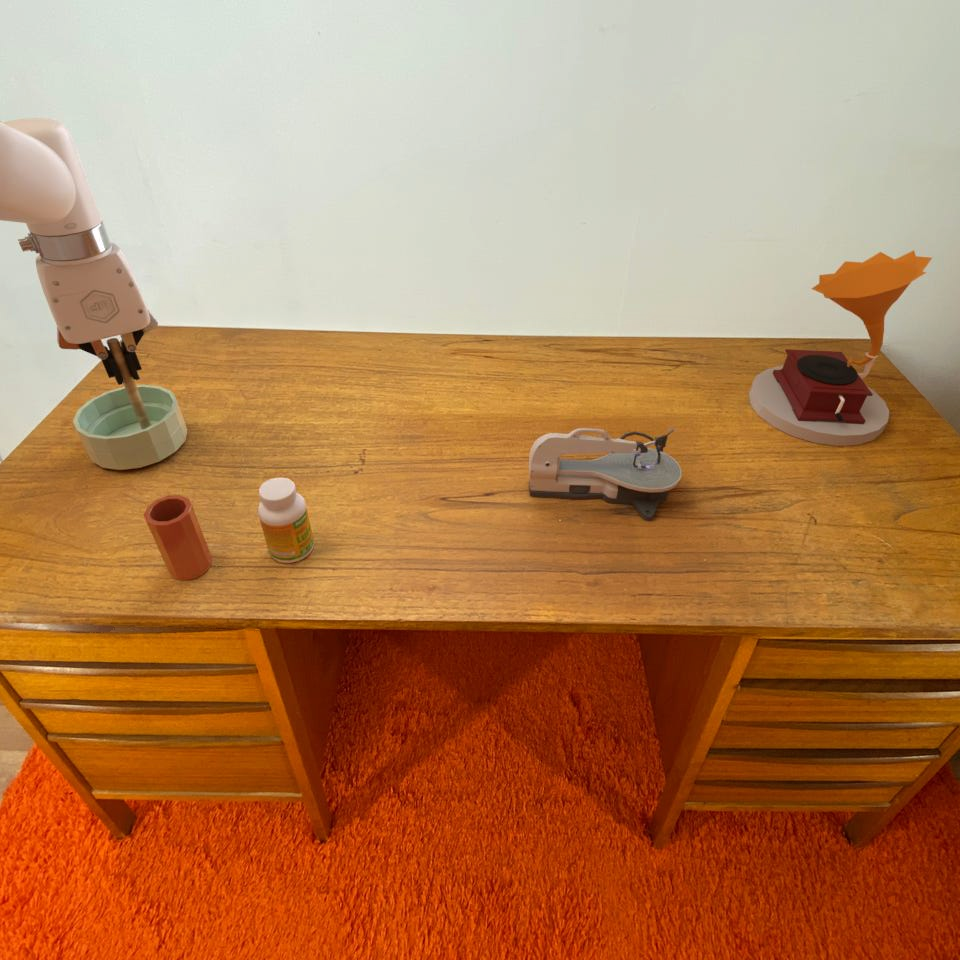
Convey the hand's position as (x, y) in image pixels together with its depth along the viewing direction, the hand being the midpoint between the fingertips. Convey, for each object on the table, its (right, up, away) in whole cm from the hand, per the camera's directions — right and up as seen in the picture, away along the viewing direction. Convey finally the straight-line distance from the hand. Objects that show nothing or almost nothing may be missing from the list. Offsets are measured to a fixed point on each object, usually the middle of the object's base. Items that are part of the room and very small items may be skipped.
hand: (126, 377), depth 86 cm
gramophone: (+102, -2, +17) cm, 103 cm away
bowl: (-2, -9, +7) cm, 11 cm away
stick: (0, -7, +6) cm, 10 cm away
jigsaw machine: (+64, -16, +1) cm, 66 cm away
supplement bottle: (+25, -22, -8) cm, 34 cm away
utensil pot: (+13, -24, -10) cm, 29 cm away
